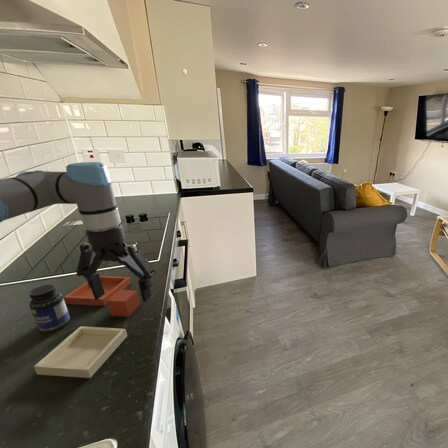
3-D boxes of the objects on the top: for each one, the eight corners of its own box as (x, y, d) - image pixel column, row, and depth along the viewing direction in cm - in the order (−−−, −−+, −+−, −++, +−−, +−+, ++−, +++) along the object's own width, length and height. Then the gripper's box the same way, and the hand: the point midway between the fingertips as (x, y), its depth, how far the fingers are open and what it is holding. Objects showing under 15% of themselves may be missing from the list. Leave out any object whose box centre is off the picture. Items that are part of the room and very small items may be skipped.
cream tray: (37, 374, 55) (33, 366, 54) (82, 333, 66) (80, 326, 65) (90, 378, 54) (87, 370, 53) (127, 336, 65) (125, 328, 64)
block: (111, 315, 72) (106, 300, 70) (123, 303, 76) (119, 289, 75) (128, 316, 71) (124, 301, 70) (140, 304, 76) (136, 290, 74)
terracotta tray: (66, 303, 76) (63, 297, 75) (97, 281, 87) (95, 275, 86) (104, 306, 75) (102, 299, 75) (130, 283, 86) (129, 277, 85)
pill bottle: (32, 333, 65) (16, 297, 61) (53, 317, 71) (39, 282, 67) (58, 333, 65) (43, 297, 61) (77, 316, 71) (64, 282, 67)
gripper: (160, 222, 68) (174, 291, 75) (68, 219, 69) (91, 287, 76) (143, 233, 61) (159, 308, 68) (41, 230, 62) (68, 304, 69)
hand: (123, 297), depth 72 cm, fingers open, 13 cm apart
